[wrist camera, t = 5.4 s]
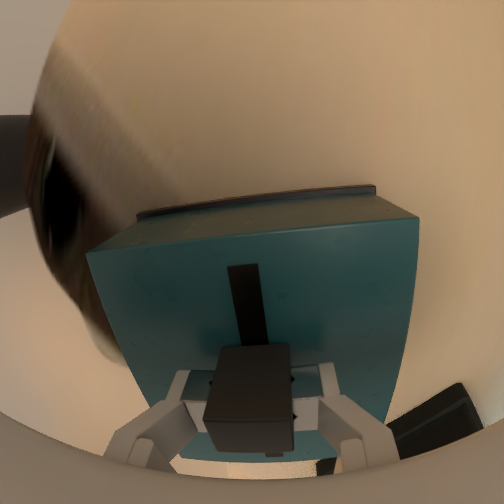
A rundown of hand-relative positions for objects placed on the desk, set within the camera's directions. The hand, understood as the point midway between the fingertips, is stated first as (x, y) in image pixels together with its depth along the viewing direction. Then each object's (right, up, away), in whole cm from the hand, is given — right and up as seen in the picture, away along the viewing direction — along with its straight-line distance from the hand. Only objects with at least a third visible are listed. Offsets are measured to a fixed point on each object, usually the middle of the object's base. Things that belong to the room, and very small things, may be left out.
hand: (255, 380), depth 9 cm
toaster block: (+1, +1, +7) cm, 7 cm away
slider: (0, 0, +1) cm, 1 cm away
